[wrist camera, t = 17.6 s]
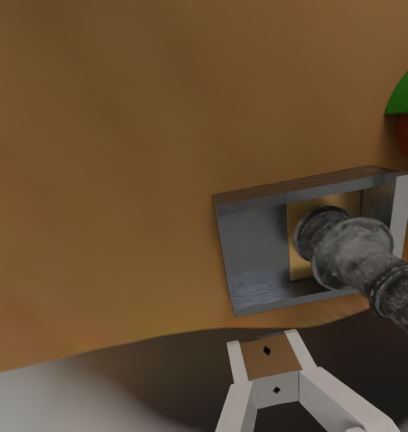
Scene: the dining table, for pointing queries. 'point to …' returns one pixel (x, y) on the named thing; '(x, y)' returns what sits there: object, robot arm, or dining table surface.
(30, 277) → the dining table surface
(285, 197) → the grey open frame
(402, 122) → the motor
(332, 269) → the grey tall turned piece
